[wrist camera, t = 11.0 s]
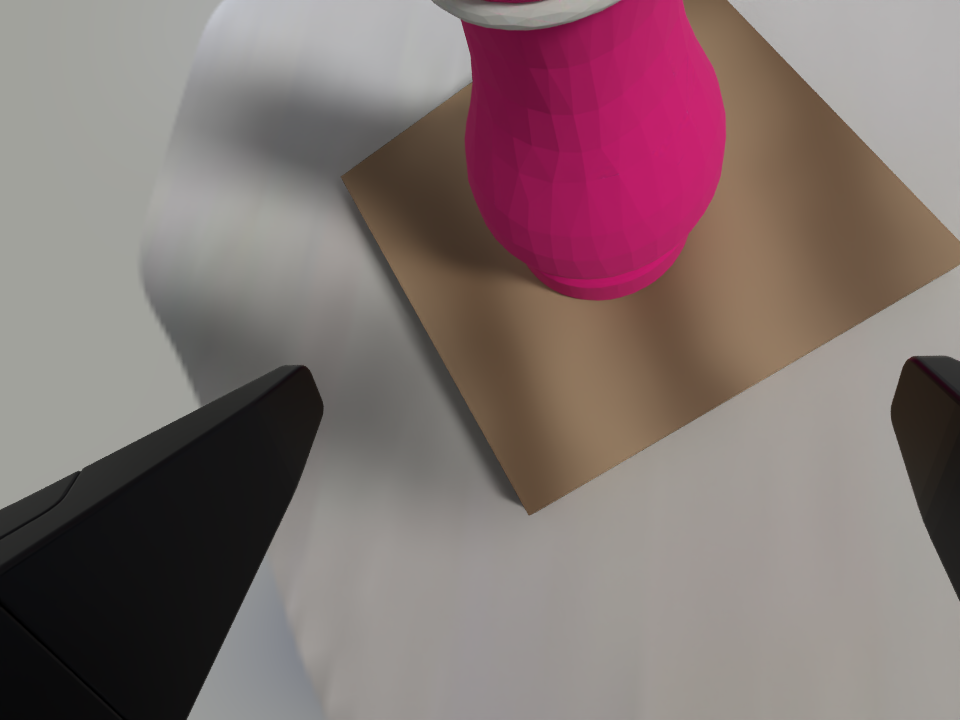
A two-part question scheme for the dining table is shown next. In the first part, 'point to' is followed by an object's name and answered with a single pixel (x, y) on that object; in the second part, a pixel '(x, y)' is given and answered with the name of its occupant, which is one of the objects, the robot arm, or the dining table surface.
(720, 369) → the walnut board
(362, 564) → the dining table surface
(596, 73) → the pepper mill
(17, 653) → the robot arm
